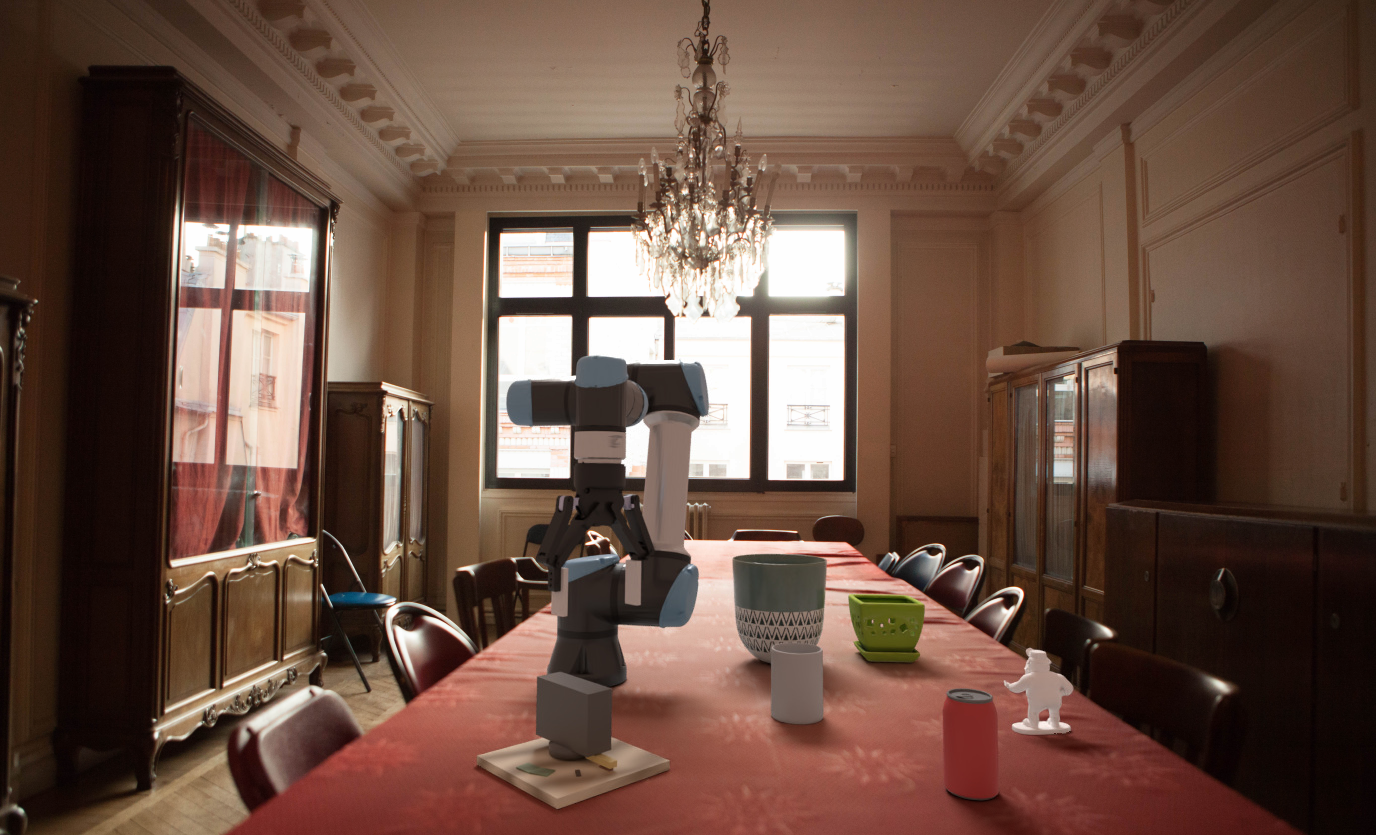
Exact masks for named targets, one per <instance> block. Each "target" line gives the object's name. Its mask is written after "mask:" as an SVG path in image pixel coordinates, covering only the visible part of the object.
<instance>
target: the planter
mask: <svg viewBox="0 0 1376 835" xmlns="http://www.w3.org/2000/svg"><path fill="white" fill-rule="evenodd" d="M731 559H732V562H731V563H732V564H731V565H732V581H733V599H734V602H733V603H734V617H735V625H736V630H737V633H738V636H739V638H740V641H741V643H742V644H743V646H744V647H745V649H747V651H748V653H749V654H751V655H752V656H753V657H755V658H757V659H758V660H759V661H761V662H764V663H767V664H771V648H772V646H774V645H776V644H781V643H806V644H812V645H816V646H818V643H819V641H820V639H821V636H822V632H823V628H824V624H825V623H824V621H825V604H826V588H827V586H826V585H827V571H828V569H827V567H828V566H827V564H828V561H827V559H826V558H824V557H820V556H815V555H806V554H792V553H791V554H790V553H754V554H753V553H752V554H740V555H735V556H733V557H732V558H731Z"/></svg>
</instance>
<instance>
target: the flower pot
mask: <svg viewBox="0 0 1376 835" xmlns="http://www.w3.org/2000/svg"><path fill="white" fill-rule="evenodd" d="M848 608H849V615H850V616H849V617H850V620H851V624H852V628H853V631H854V633H855V636H856V639H857V640H853V641H852V642H853V645H854V646H855V648H856V649H857V650H858V651H859V653H860V654H861V655H862V657H864V658H865V659H866V660H867V661H868V662H871V663H908V664H912V663H914V662H916V661H917V660H918V659H919V658H920V657H921V652H919V650H918V649H916V647H917V645H918V643H919V641H920V639H921V638H920V637H921V634H922V631H923V627H924V623H925V622H924V621H925V612H926V606H925V604H924V603H923V602H921V601H919V600H918V599H916V598H914V597H912V596H909V595H906V594H875V593H874V594H871V593H869V594H868V593H867V594H866V593H862V594H861V593H850V594H848ZM881 625H882V626H881Z"/></svg>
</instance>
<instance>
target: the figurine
mask: <svg viewBox="0 0 1376 835" xmlns="http://www.w3.org/2000/svg"><path fill="white" fill-rule="evenodd" d="M1025 653H1026V656H1027V657H1028V659H1027V660H1026V663H1025V667H1023V669H1024V674H1023V675H1022V676H1021V677H1020V679H1018V681H1015V682H1012V683H1010V682H1008V681H1007V680H1003V684H1004V687H1005V688H1007V689H1008V690H1009V691H1010V692H1012V693H1016V694H1020V693H1023V692H1025V696H1026V697H1027V703H1028V707H1027V718H1024V719H1023V720H1022V721H1021V722H1015V723H1013V724H1012V725H1011V730H1012V731H1013V732H1015V733H1018V734H1021V735H1030V736H1031V735H1032V736H1035V735H1037V736H1038V735H1039V736H1041V735H1058V734H1057V733H1062V734H1067V733H1066V732H1069V731H1072V728H1071V725H1069V724H1068V723H1065V722H1063V721H1062V722H1061V718H1060V708H1061V707H1062V702H1063V700H1062V698H1063V697H1064V696H1065V697H1066V696H1067V697H1069V695H1071V694H1072V693H1073V691H1074V686H1073V684H1072V683H1071V682H1070V681H1069V680H1068V679H1067V678H1066V676H1064V675H1062V674H1061V673H1056V672H1054V671H1051V670H1050V668H1051V666H1050V665H1051V664H1052V661H1051V660H1050V658H1049V657H1048V656H1047V652H1046V651H1045V650H1044V651H1043V650H1040V649H1033V648H1031V647H1029V648H1026V650H1025ZM1045 710H1048V712H1049V717H1048V718H1047V720H1046V721H1045V720H1042V721H1041V720H1040V716H1039V715H1040V713H1042V712H1043V711H1045ZM1054 733H1056V734H1054ZM1069 733H1070V732H1069Z"/></svg>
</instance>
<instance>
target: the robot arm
mask: <svg viewBox="0 0 1376 835" xmlns="http://www.w3.org/2000/svg"><path fill="white" fill-rule="evenodd" d="M575 370H576V371H575V375H569V376H561V377H555V378H554V377H553V378H547V379H524V380H516V381H513V382H512V383H511V384H510V386H509V388H508V390H507V391H506V392H507V393H506V396H505V397H506V400H505V401H506V402H505V403H506V413H507V417H508V418H509V420H510V422H511V423H513V425H516V426H519V427H520V426H521V427H523V426H524V427H531V428H534V427H549V426H550V427H552V426H553V427H554V426H555V427H556V426H565V427H566V426H572V427H574V448H573V453H574V454H573V458H574V459H575V460H577V463H575V465H573V487H574V488H575V495H574V497H573V496H572V495H561V494H560V495H557V497H556V500H555V510H554V512H553V515H552V518H551V519H550V523H549V525H548V527H547V529H546V531H545V535H544V537H543V540H542V542H541V543H540V547H539V549H538V551H537V553H536V556H535V558H534V559H535V561H536V563H537V564H541V565H542V566H544V567H547V589H548V591H549V592H551V604H550V605H551V606H550V608H551V609H550V610H551V611H550V613H551V614H550V615H553V616H557V617H556V620H557V621H556V622H557V623H556V627H557V628H556V632H557V633H556V641H555V644H554V647H553V650H552V653H551V656H550V659H549V663H548V665H547V668H546V675H547V674H552V673H557V672H563V673H566V674H569V675H572V676H575V677H578V678H581V679H584V680H587V681H590V682H593V683H596V684H599V685H602V686H605V687H608V688H611V687H615V686H618V685H620V684H622V683H623V682H625V681H626V680H627V678H628V676H627V674H628V672H627V670H628V669H627V663H626V660H625V656H624V653H623V650H622V647H621V643H620V639H619V626H634V627H635V626H637V627H656V628H657V627H658V628H661V629H665V628H682V627H684V626H685V625H686V624H688V622H689V621H690V620H691V617H692V615H693V612H694V610H695V606H696V602H697V596H698V591H699V576H700V574H699V568H698V567H697V565H695V564H694V563H692V556H691V554H690V553H689V552H688V551H687V549H686V548H685V534H686V533H685V532H686V521H687V519H686V518H687V505H688V504H687V503H688V490H689V475H690V460H691V446H692V433H693V432H694V431H695V430H696V429H698V427H699V426H700V422H701V417H702V418H704V417H706V416H708V415H709V410H710V403H709V402H710V401H709V390H708V385H707V384H708V383H707V380H706V373H705V370H704V367H703V366H702V364H701V363H700V361H697V360H694V359H693V360H692V359H691V360H687V359H681V358H679V359H674V360H673V359H671V360H670V359H669V360H668V359H667V360H666V359H665V360H629V361H626V360H625V359H624V358H623V357H619V356H615V355H604V354H603V355H601V354H600V355H599V354H598V355H597V354H596V355H586V356H582V357H580V358H579V359H578V361H577V363H576V369H575ZM642 421H643V423H644V425H645V426H646V427H647V428H648V429H649V434H648V446H647V455H646V456H647V459H646V468H645V480H644V482H645V483H644V491H643V503H642V511H641V501H640V495H638V494H627V493H626V494H624V495H623V490H624V489H625V487H626V480H627V478H626V477H627V476H626V475H627V474H626V473H627V472H626V471H627V468H626V467H627V466H626V465H625V463H622V461H623V460H626V458H627V428H630V427H633V426H636V425H637V424H639V423H640V422H642ZM622 509H623V511H624V514H623V512H622ZM574 511H576V513H575V514H574V516H573V512H574ZM572 516H573V517H572ZM571 518H572V519H571ZM569 523H570V524H569ZM568 525H569V526H568ZM593 527H595V528H596V527H609V528H611V530H612V532H613V533H614V534H615V536H616V538H617V539H618V541H619V542H620V544H621V545H622V547H623V548H624V550H625V552H626V553H627V555H628V557H629V558H630V559H625V562H620V561H621V558H620V556H619V555H618V554H616V553H614V554H613V553H612V554H611V553H610V554H609V553H608V554H598V555H590V556H583V557H578V558H571V559H569V558H570V556H571V555H572V553H573V552H574V550H575V549H576V547H577V546H578V544H579V542H580V541H581V540H582V537H583V536H584V534H585V533H586V532H587V531H588V530H590V529H591V528H593ZM568 559H569V560H568Z"/></svg>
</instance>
